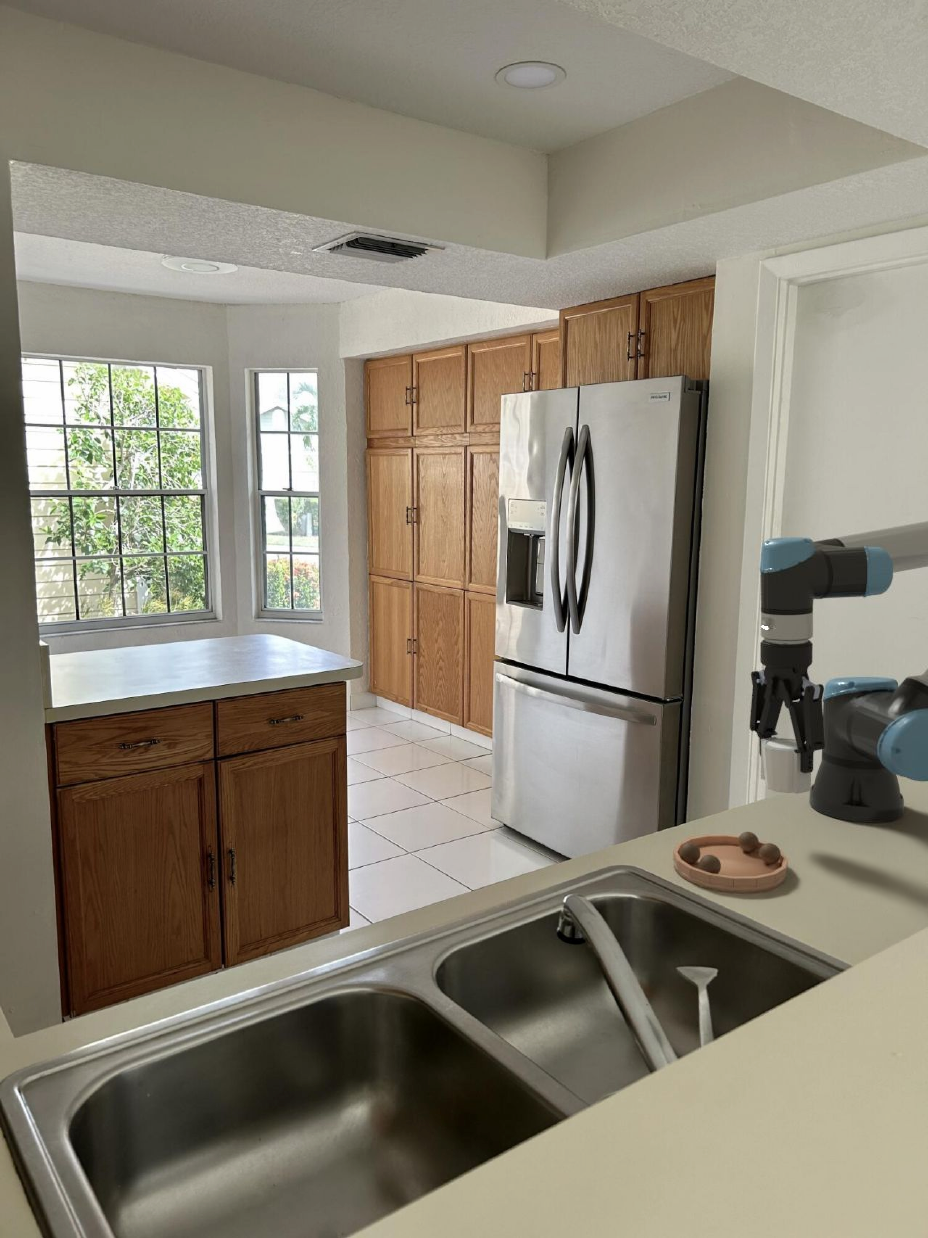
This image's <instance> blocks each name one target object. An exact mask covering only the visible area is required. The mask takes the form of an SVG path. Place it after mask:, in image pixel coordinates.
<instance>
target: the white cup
mask: <svg viewBox="0 0 928 1238" xmlns="http://www.w3.org/2000/svg"><path fill="white" fill-rule="evenodd" d="M777 738H778V739H769V740H765V741H763V742H762V751H763V762H764V773H765V780H764V784H765V788H766V789H768V790H770V791H773V792H776V793H785V794H795V793H794V792H793V754H794V750H796V749H798V748H797V744H796V739H795V738H794V739H793V738H779V737H777ZM805 744H806V742H805Z"/></svg>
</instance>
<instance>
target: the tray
mask: <svg viewBox="0 0 928 1238" xmlns="http://www.w3.org/2000/svg"><path fill="white" fill-rule="evenodd" d="M739 836H740V835H732V834H704V835H698V836H693V837H692V836H691V837H689V838H686V839H684V840H681V841H680V842H678V843H676V846H675V847H674V849H673V852H672V854H673V855H672V860H673V863H674V864H673V867H674V871H675V872H676V873H677V874H678V875H679V877H681V878H683V880H685V881H687V882H689V883H691V884H693V885H694V886H695V885H696V886H698V887H701V888H705V889H706V890H712V891H717V892H721V893H732V894H754V893H763V892H767V891H771V890H774V889H776V888H778V887H780V886H782V885H783V884H784V883H785V882H786V880H787V876H788V866H789V864H788V863H789V858H788V857H787V856H786V855H785V853H784V852H783V851H782V850H780V849H779V850H780V852H781V857H780V859H779V861H778V862H776V863H774V864H767V863H765V862H764V861H762V859H761V858H760V855H759V851H760V848H761V847H762V846H763V845H764V844H766V843H767V842H765V841H762V840H759V845H758V847H757V849H756V850H754V851H752V852H746V851H744V850H742V849H741V848H740V846H739V844H738V839H739ZM685 843H694V844H695V845H697V846H698V848H699V849H700V858H699V860H698V861H697V862H695V863H691V864H690V863H686V862H684V861H683V860H682V859H681V857H680V848H681V847H682V845H684V844H685ZM705 855H713V856H715V857H717V858H718V859H719V861H720V863H721V869H720V872H719V873H718V874H712V873H709V872H706V871H703V870H700V867H699V863H700V860H701V858H702V857H704V856H705Z"/></svg>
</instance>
